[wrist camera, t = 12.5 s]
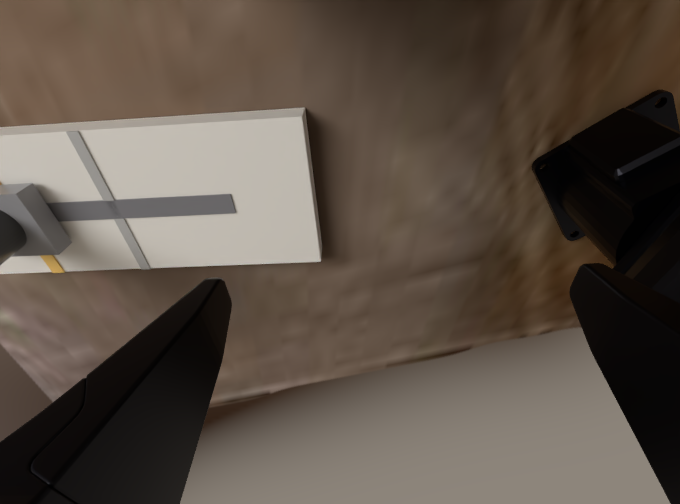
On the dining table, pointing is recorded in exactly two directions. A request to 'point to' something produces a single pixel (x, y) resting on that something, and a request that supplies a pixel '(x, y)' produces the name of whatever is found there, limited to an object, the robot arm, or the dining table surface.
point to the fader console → (170, 190)
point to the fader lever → (28, 224)
